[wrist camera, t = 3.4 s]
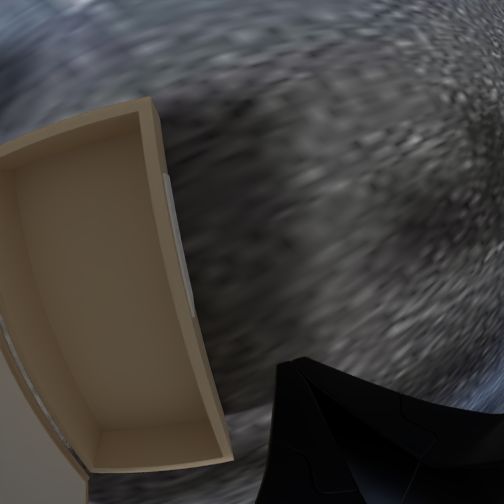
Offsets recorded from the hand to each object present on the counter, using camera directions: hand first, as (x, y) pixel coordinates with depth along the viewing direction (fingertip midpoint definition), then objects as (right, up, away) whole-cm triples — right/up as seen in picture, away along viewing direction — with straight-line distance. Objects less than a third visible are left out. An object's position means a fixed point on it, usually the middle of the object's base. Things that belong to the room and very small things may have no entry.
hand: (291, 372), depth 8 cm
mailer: (-9, 0, +7) cm, 11 cm away
